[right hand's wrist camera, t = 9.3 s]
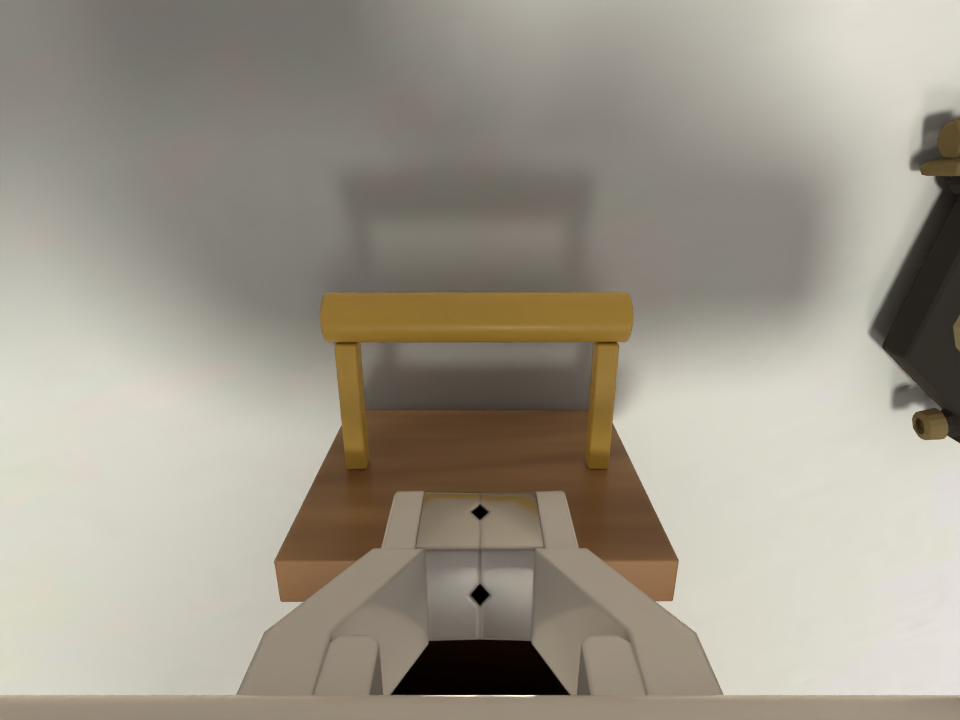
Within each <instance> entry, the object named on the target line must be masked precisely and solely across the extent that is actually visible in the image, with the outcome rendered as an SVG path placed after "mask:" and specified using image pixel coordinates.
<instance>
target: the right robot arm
mask: <svg viewBox="0 0 960 720" xmlns="http://www.w3.org/2000/svg"><path fill="white" fill-rule="evenodd" d="M474 639H485V640H520V641H532V645H533V646H534V647H535V649H536V650H537V651H538V653H539V654H540V655H541V657H542V658H543V659H544V661H545V662H546V663H547V665H548V666H549V667H550V669H551V670H552V671H553V673H554V674H555V675H556V677H557V678H558V679H559V681H560V682H561V683H562V685H563V686H564V687H565V689H566V690H567V691H568V693H569V694H570V695H390V694H391V693H392V692H393V690H394V689H395V688H396V686H397V685H398V684H399V682H400V681H401V680H402V679H403V677H404V676H405V675H406V673H407V672H408V671H409V669H410V668H411V667H412V665H413V664H414V663H415V661H416V660H417V659H418V657H419V656H420V655H421V653H422V652H423V651H424V649H425V648H426V647H427V645H428V641H439V640H474ZM0 720H960V695H723V692H722V690H721V688H720V686H719V683H718V681H717V679H716V677H715V674H714V672H713V670H712V668H711V665H710V663H709V661H708V659H707V656H706V654H705V652H704V650H703V647H702V645H701V643H700V641H699V638H698V636H697V634H696V633H695V632H694V631H693V630H691V629H690V628H689V627H688V626H686V625H685V624H684V623H682V622H681V621H680V620H679V619H677V618H676V617H675V616H673V615H672V614H671V613H670V612H668V611H667V610H666V609H664V608H663V607H662V606H661V605H659V604H658V603H657V602H655V601H654V600H653V599H652V598H650V597H649V596H648V595H646V594H645V593H644V592H643V591H641V590H640V589H639V588H637V587H636V586H635V585H634V584H632V583H631V582H630V581H628V580H627V579H626V578H625V577H623V576H622V575H621V574H619V573H618V572H617V571H615V570H614V569H613V568H612V567H610V566H609V565H608V564H606V563H605V562H604V561H603V560H601V559H600V558H599V557H597V556H596V555H595V554H594V553H592V552H591V551H590V550H588V549H587V548H579V547H578V543H577V539H576V535H575V531H574V527H573V523H572V519H571V515H570V511H569V507H568V503H567V499H566V495H565V493H564V492H563V491H536V492H506V493H480V492H445V491H426V492H424V491H397V492H396V494H395V495H394V498H393V503H392V507H391V511H390V515H389V519H388V523H387V527H386V531H385V535H384V539H383V543H382V547H381V548H373V549H372V550H370V551H369V552H368V553H366V554H365V555H364V556H363V557H361V558H360V559H359V560H357V561H356V562H355V563H353V564H352V565H351V566H350V567H348V568H347V569H346V570H344V571H343V572H342V573H341V574H339V575H338V576H337V577H335V578H334V579H333V580H331V581H330V582H329V583H328V584H326V585H325V586H324V587H322V588H321V589H320V590H319V591H317V592H316V593H315V594H313V595H312V596H311V597H309V598H308V599H307V600H306V601H304V602H303V603H302V604H300V605H299V606H298V607H297V608H295V609H294V610H293V611H291V612H290V613H289V614H287V615H286V616H285V617H284V618H282V619H281V620H280V621H278V622H277V623H276V624H275V625H273V626H272V627H271V628H269V629H268V630H267V631H265V632H264V634H263V637H262V639H261V641H260V643H259V646H258V648H257V650H256V652H255V654H254V657H253V659H252V661H251V663H250V666H249V668H248V670H247V672H246V674H245V677H244V679H243V681H242V683H241V686H240V688H239V690H238V692H237V694H236V695H0Z"/></svg>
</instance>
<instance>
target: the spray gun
mask: <svg viewBox="0 0 960 720" xmlns="http://www.w3.org/2000/svg"><path fill="white" fill-rule="evenodd" d="M938 149H939V151H940V153H941V155H942V156H943V157H944V158H945V159H940V160H934V161H930V162H927V163H924V164H923V165H922V166H921V167H920V171H921V174H922V175H926V176H951V177H950V179H949V180H948V182H947V184H948V186H949V187H950V189H951V191H952V193H954V194H960V119H957V120H952V121H950V122H947V123H946V124H945V125H944V126H943V128H942V130H941V132H940V134H939V137H938ZM883 349H884V350H885V351H886V352H887V353H888V354H889V355H890V356H891V357H892V358H893V359H894V360H895V361H896V362H897V363H898V364H899V365H900V366H901V367H902V368H903V369H904V370H905V371H906V372H907V373H908V374H909V375H910V376H911V377H912V378H913V379H914V380H915V381H916V383H917V384H918V385H919V386H920V387H921V388H922V389H923V390H924V391H925V392H926V393H927V394H928V395H929V396H930V397H931V398H932V399H933V400H934V401H935V402H936V403H937V404H938V405H939V406H940V407H941V408H942V410H941V411H939V410H938V409H935V408H932V409H928V410H923V411H919V412H916V413H915V414H914V415H913V418H912V422H913V429H914V430H915V432H916V433H917V435H918V436H919V437H920V438H921V439H924V440H935V439H944V438H945V437H946V436H947V435H948V436H949V437H951V438H952V439H954V440H956V441H957V442H959V443H960V195H959V196H958V198H957V200H956V202H955V204H954V206H953V208H952V210H951V212H950V214H949V215H948V217H947V219H946V221H945V223H944V225H943V227H942V229H941V231H940V233H939V234H938V236H937V238H936V240H935V242H934V244H933V246H932V248H931V250H930V252H929V253H928V255H927V257H926V259H925V261H924V263H923V265H922V267H921V269H920V271H919V273H918V275H917V277H916V279H915V281H914V283H913V285H912V287H911V289H910V291H909V293H908V295H907V297H906V299H905V301H904V303H903V305H902V307H901V309H900V311H899V313H898V315H897V317H896V319H895V321H894V323H893V325H892V327H891V329H890V331H889V333H888V335H887V337H886V339H885V341H884V343H883Z"/></svg>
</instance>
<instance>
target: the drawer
mask: <svg viewBox="0 0 960 720" xmlns="http://www.w3.org/2000/svg"><path fill="white" fill-rule="evenodd" d="M320 322H321V330H322V334H323V337H324V339H325V340H326V341H327V342H337V343H336V344H335V346H334V347H335V357H336V368H337V378H338V389H339V399H340V409H341V420H342V425H341V427H340V429H339V431H338V433H337V435H336V437H335V439H334V441H333V443H332V445H331V447H330V450H329V452H328V454H327V456H326V458H325V460H324V462H323V464H322V466H321V468H320V470H319V472H318V474H317V476H316V478H315V480H314V482H313V484H312V486H311V488H310V490H309V492H308V494H307V496H306V498H305V500H304V502H303V504H302V506H301V508H300V510H299V512H298V514H297V516H296V518H295V520H294V522H293V524H292V526H291V528H290V530H289V532H288V534H287V536H286V538H285V540H284V542H283V544H282V546H281V548H280V550H279V552H278V554H277V556H276V558H275V561H274V562H275V569H276V575H277V582H278V588H279V594H280V600H281V601H282V602H304V601H306V600H307V599H308V598H309V597H311V596H312V595H313V594H315V593H316V592H317V591H319V590H320V589H321V588H322V587H324V586H325V585H326V584H328V583H329V582H330V581H331V580H333V579H334V578H335V577H337V576H338V575H339V574H341V573H342V572H343V571H344V570H346V569H347V568H348V567H350V566H351V565H352V564H353V563H355V562H356V561H357V560H359V559H360V558H361V557H363V556H364V555H365V554H366V553H368V552H369V551H370V550H372V549H373V548H381V547H382V543H383V539H384V535H385V531H386V527H387V523H388V519H389V515H390V511H391V507H392V503H393V498H394V495H395V494H396V492H397V491H424V492H426V491H445V492H480V493H506V492H536V491H563V492H564V493H565V495H566V499H567V503H568V507H569V511H570V515H571V519H572V523H573V527H574V531H575V535H576V539H577V543H578V547H579V548H587V549H588V550H590V551H591V552H592V553H594V554H595V555H596V556H597V557H599V558H600V559H601V560H603V561H604V562H605V563H606V564H608V565H609V566H610V567H612V568H613V569H614V570H615V571H617V572H618V573H619V574H621V575H622V576H623V577H625V578H626V579H627V580H628V581H630V582H631V583H632V584H634V585H635V586H636V587H637V588H639V589H640V590H641V591H643V592H644V593H645V594H646V595H648V596H649V597H650V598H652V599H653V600H654V601H672V600H673V596H674V589H675V582H676V575H677V569H678V562H679V560H678V558H677V556H676V554H675V552H674V550H673V548H672V545H671V543H670V541H669V539H668V537H667V535H666V533H665V531H664V529H663V527H662V525H661V523H660V520H659V518H658V516H657V514H656V512H655V510H654V508H653V506H652V504H651V502H650V500H649V498H648V496H647V493H646V491H645V489H644V487H643V485H642V483H641V481H640V479H639V477H638V475H637V473H636V471H635V468H634V466H633V464H632V462H631V460H630V458H629V456H628V454H627V452H626V450H625V448H624V446H623V444H622V441H621V439H620V437H619V435H618V433H617V431H616V429H615V427H614V425H613V423H612V420H613V409H614V398H615V387H616V375H617V364H618V353H619V344H618V343H617V342H626V341H628V339H629V337H630V335H631V331H632V324H633V307H632V301H631V298H630V295H629V294H628V293H626V292H408V293H326V294H325V295H324V296H323V299H322V303H321V310H320ZM360 342H593V355H592V368H591V382H590V396H589V410H366V408H365V395H364V382H363V370H362V357H361V344H360ZM390 695H570V694H569V693H568V691H567V690H566V689H565V687H564V686H563V685H562V683H561V682H560V681H559V679H558V678H557V677H556V675H555V674H554V673H553V671H552V670H551V669H550V667H549V666H548V665H547V663H546V662H545V661H544V659H543V658H542V657H541V655H540V654H539V653H538V651H537V650H536V649H535V647H534V646H533V645H532V641H520V640H485V639H474V640H439V641H428V645H427V647H426V648H425V649H424V651H423V652H422V653H421V655H420V656H419V657H418V659H417V660H416V661H415V663H414V664H413V665H412V667H411V668H410V669H409V671H408V672H407V673H406V675H405V676H404V677H403V679H402V680H401V681H400V682H399V684H398V685H397V686H396V688H395V689H394V690H393V692H392V693H391V694H390Z"/></svg>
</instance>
